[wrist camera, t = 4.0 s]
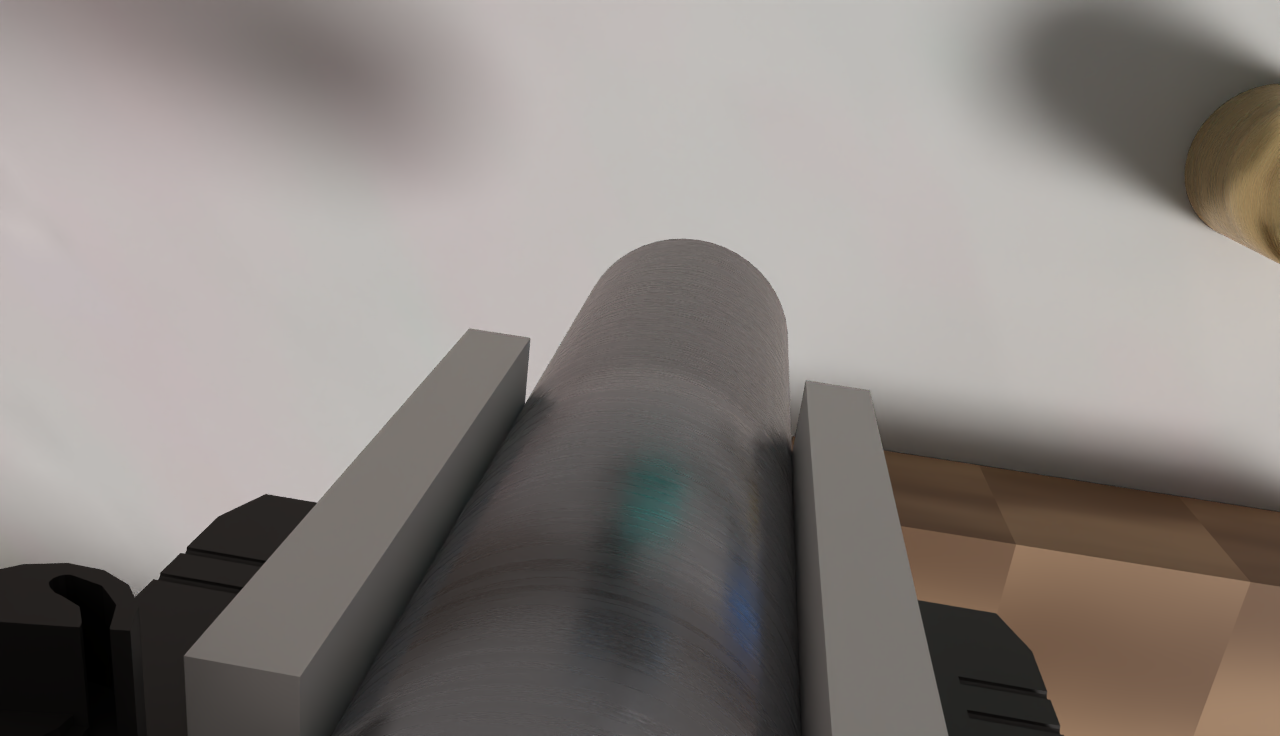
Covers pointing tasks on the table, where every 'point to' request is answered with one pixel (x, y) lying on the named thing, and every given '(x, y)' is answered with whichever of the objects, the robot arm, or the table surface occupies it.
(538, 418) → the long pin
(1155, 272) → the table surface
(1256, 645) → the hole block
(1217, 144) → the short pin
